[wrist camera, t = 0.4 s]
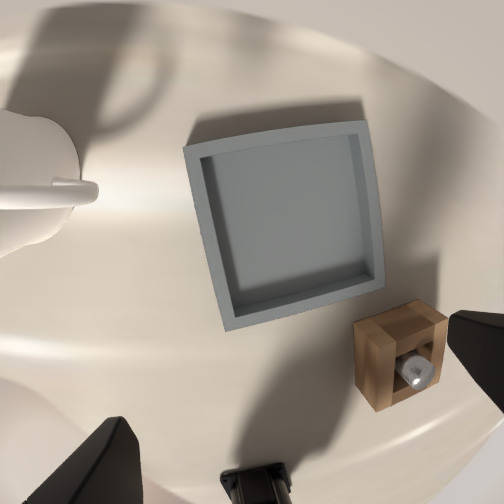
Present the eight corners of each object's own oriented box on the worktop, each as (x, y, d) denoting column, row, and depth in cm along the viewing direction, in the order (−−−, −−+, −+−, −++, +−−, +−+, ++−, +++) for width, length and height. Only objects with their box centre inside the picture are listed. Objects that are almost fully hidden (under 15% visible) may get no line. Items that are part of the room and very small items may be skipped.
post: (397, 349, 24) (433, 382, 19) (376, 358, 24) (410, 394, 19) (398, 328, 24) (437, 360, 19) (376, 337, 24) (413, 372, 18)
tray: (371, 278, 22) (385, 286, 20) (222, 318, 21) (225, 331, 19) (352, 123, 19) (366, 119, 17) (184, 149, 18) (182, 146, 16)
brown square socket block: (414, 359, 25) (439, 381, 21) (355, 384, 24) (375, 412, 21) (418, 299, 24) (448, 317, 20) (353, 322, 23) (378, 348, 19)
